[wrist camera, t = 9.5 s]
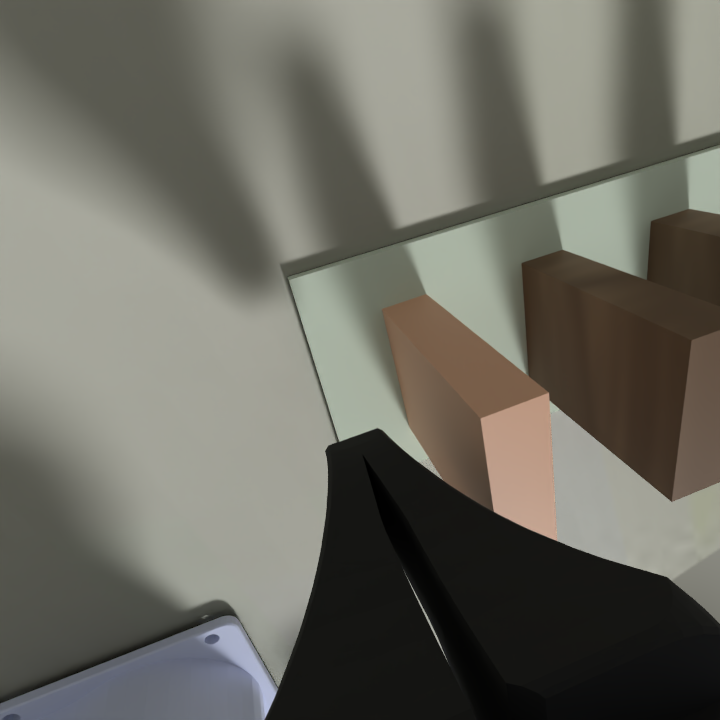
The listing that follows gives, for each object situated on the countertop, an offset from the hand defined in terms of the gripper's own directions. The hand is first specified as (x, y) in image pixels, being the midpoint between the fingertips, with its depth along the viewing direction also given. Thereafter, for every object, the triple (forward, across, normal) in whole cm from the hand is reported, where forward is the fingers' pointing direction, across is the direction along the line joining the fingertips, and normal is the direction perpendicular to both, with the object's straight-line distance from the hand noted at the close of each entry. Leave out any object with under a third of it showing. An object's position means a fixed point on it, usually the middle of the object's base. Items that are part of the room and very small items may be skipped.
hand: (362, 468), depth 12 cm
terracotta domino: (+4, -3, 0) cm, 5 cm away
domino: (+4, -7, 0) cm, 8 cm away
